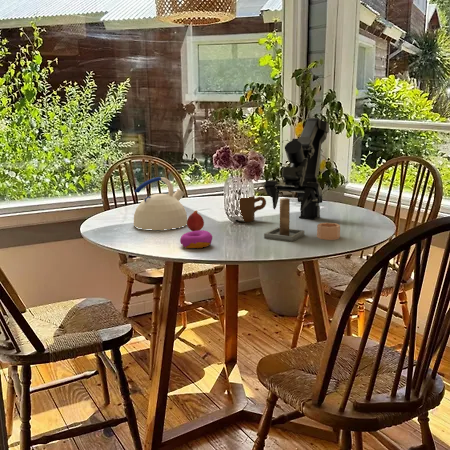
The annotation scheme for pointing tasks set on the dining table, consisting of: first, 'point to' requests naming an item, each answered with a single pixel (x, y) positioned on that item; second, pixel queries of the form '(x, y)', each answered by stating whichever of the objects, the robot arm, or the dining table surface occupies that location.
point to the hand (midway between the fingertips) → (287, 209)
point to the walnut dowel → (284, 216)
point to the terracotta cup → (328, 231)
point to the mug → (250, 207)
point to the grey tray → (276, 235)
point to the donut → (196, 239)
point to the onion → (195, 222)
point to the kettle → (160, 209)
